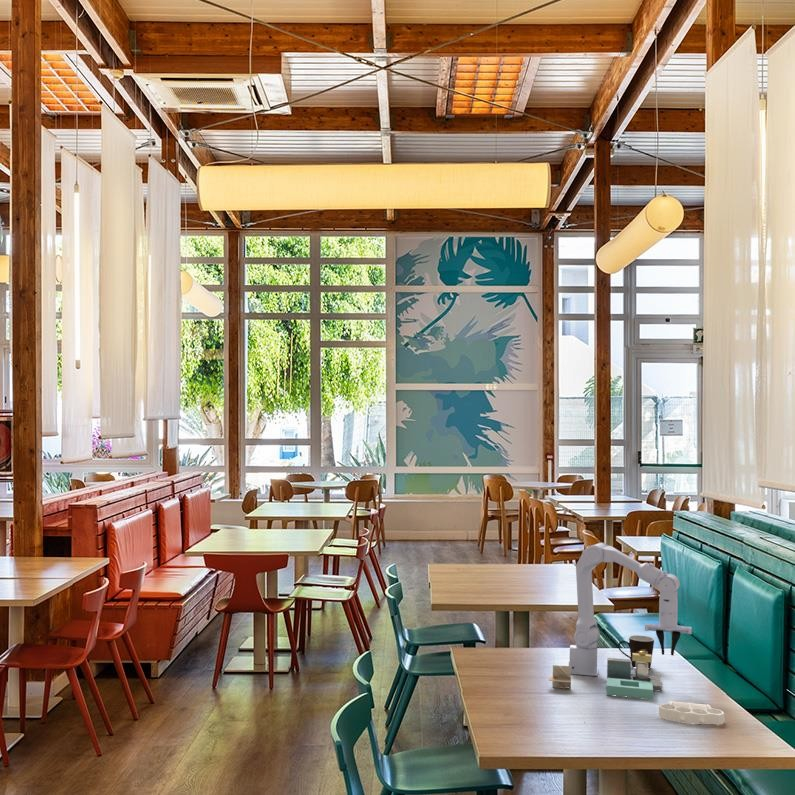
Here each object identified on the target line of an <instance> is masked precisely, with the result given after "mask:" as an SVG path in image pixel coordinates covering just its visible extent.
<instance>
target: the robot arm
mask: <svg viewBox="0 0 795 795" xmlns="http://www.w3.org/2000/svg"><path fill="white" fill-rule="evenodd" d="M601 563H616V564H618V565H620V566H622V567H624V568H627V569H628V570H631V571H633V572H635V573H636V574H637V577H638V578H639V579H640V580H642V581H644V582H646V583H648V584H649V585H651V586H653V587H655V588H657V589H658V591H659V600H658V601H659V602H658V603H659V605H658V607H659V608H658V623H644V631H646V632H649V631H652V632H655V635H656V636H657V639H658V641H659V645H660V650H661V655H665V633H671V645H670V646H671V647H670V655H671V656H674V655H675V649H676V646H677V644H678V642H679V641H680V640H679V639H681V634H688V635H692V634H693V633H692V632H693V631H692V629H693V628H692V626H685V625H678V605H679V604H678V602H679V601H678V589H679V588H680V585H681V584H680V579H679V578H678V577H677V576H676V575H675V574H674V573H668V571H667V570H661V569H659V568H657V567H656V566H655V564H654V563H652V562H649V563H648V562H644V563H641V562H640V561H637V560H636V559H634V558H632V557H631V556H629V555H627V554H625V553H624V552H622V551H621V550H619V549H617V548H615V547H614V546H611V545H608V544H607V543H604V542H597V543H596V544H595V543H594V544H592V545H589V546H587V547H586V548H585V549H584V550H582V552H581V555H580V557H579V559H578V561H577V563H576V565H575V574H576V575H575V576H576V577H575V578H576V592H577V593H576V596H577V614H578V616H577V621H576V623H575V631H574V634H573V640H574V643H575V644H570V645H569V661H568V666H570V675H581V676H592V677H599V668H598V643H597V641H599V639H600V637H601V636H600V635H601V634H600V633H601V632H600V630H599V627H598V624H597V620H596V618H595V613H594V612H595V611H594V593H593V573H592V572H593V570H594V569H595V568H596V567H598V565H599V564H601Z"/></svg>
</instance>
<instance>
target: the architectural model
mask: <svg viewBox="0 0 795 795" xmlns="http://www.w3.org/2000/svg"><path fill="white" fill-rule="evenodd" d="M548 680H549V682H552V688H558V687H562V689H563V690H566V688H564V687H569V688H568V689H569V690H570V689H571V690H572V674H570V666H569V665H558V664H556V665H555V664H553V665H552V676H548Z"/></svg>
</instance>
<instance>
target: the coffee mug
mask: <svg viewBox="0 0 795 795" xmlns="http://www.w3.org/2000/svg"><path fill="white" fill-rule="evenodd" d="M623 643H625V644H627V646H628V648H629V652H630V655H628V654H627V653H625V652H624V651H623V650H622V649H621V647H620V646H621V644H623ZM654 643H655V638H654V637H650V636H647V635H639V634H638V635H636V634H635V635H630V636H628V641H626V640H621V641H619V642H618V644H617V647H618V650H619V651H620V652H621V653H622V655H624V656H626V657H627V659H628V658H629V660H631V667H632V666H633V667H636V661H633V660H632V655H633V653H639V651H645V654H651V655H652V656H653V653H654V652H653V651H654V645H655V644H654ZM647 663H648V668H650V667H651V666H652V663H651V662H647ZM633 667H632V668H633ZM650 669H651V668H650Z"/></svg>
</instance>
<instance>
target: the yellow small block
mask: <svg viewBox="0 0 795 795" xmlns="http://www.w3.org/2000/svg"><path fill="white" fill-rule="evenodd" d="M632 660H633V661H639V662H651V664H652V660H653V654H652V655H651V654H645V651H639V653H633V655H632Z"/></svg>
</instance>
